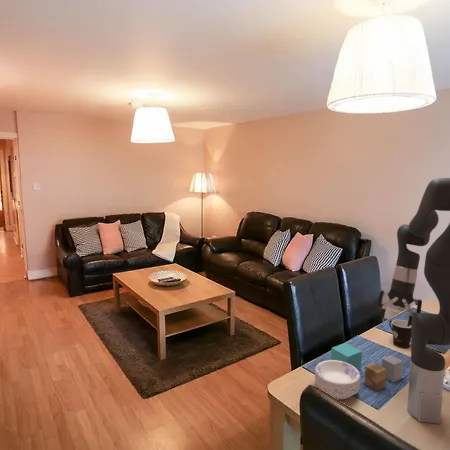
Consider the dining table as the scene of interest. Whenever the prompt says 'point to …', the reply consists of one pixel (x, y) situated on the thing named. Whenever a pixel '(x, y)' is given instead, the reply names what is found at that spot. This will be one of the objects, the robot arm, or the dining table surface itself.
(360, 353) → the teal block
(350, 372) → the paper bowls
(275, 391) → the dining table surface
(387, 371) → the slate-grey block
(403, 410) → the dining table surface
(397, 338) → the coffee mug
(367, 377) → the walnut block
